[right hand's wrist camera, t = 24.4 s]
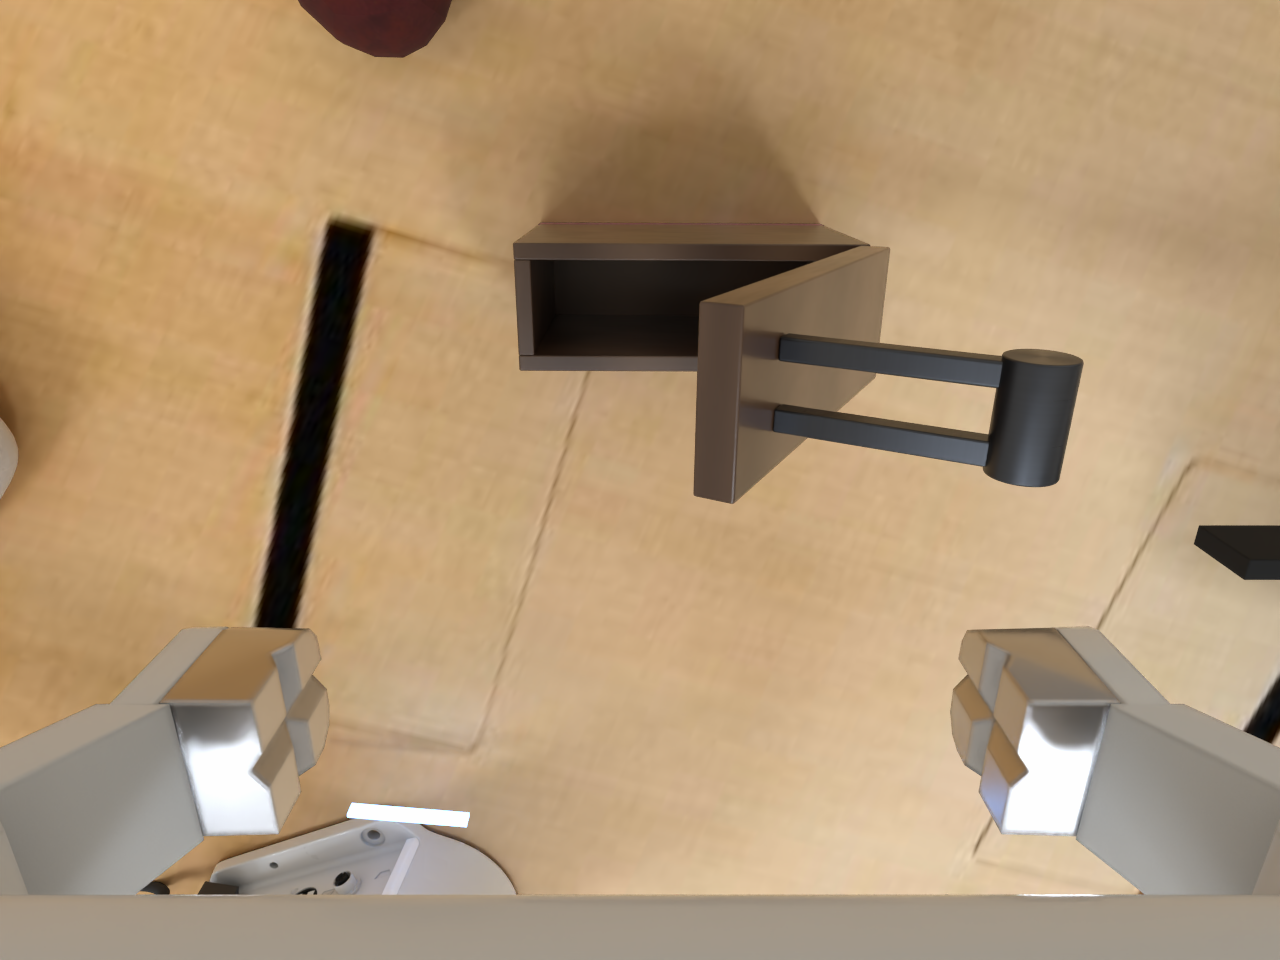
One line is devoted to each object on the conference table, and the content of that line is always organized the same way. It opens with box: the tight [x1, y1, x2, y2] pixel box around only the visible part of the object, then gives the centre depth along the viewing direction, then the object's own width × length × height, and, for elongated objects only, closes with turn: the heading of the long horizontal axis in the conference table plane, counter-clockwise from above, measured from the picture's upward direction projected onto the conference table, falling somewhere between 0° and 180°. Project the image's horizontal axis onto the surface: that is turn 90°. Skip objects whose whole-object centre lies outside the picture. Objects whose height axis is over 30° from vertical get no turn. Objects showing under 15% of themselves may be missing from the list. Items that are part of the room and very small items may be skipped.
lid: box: [694, 246, 1084, 504], centre depth 26 cm, size 15×5×9 cm
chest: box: [513, 223, 870, 371], centre depth 39 cm, size 15×5×10 cm, turn 90°
